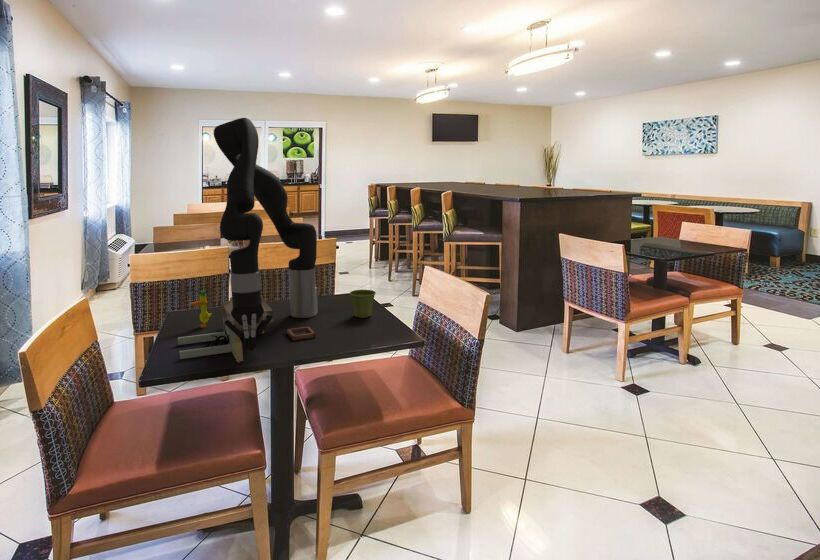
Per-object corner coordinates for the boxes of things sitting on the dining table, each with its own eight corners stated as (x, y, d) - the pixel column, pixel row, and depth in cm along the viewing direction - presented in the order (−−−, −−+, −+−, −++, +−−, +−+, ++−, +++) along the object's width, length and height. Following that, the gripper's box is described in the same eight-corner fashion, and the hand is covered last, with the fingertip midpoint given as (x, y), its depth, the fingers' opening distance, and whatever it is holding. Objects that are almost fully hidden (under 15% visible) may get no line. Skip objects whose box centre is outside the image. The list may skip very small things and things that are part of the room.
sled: (231, 337, 155) (230, 319, 154) (243, 361, 134) (241, 342, 133) (178, 343, 148) (176, 326, 147) (181, 371, 128) (179, 350, 126)
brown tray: (308, 330, 162) (308, 326, 162) (315, 337, 156) (315, 333, 155) (287, 333, 159) (287, 329, 159) (293, 340, 152) (293, 336, 152)
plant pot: (378, 318, 177) (377, 294, 175) (351, 320, 175) (351, 296, 173) (373, 311, 186) (373, 289, 184) (348, 313, 184) (347, 290, 182)
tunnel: (263, 332, 161) (261, 297, 158) (274, 348, 145) (272, 310, 143) (224, 337, 155) (221, 301, 153) (231, 354, 140) (228, 315, 138)
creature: (206, 359, 140) (234, 348, 143) (199, 342, 138) (228, 332, 141) (203, 350, 147) (230, 341, 150) (197, 334, 145) (225, 324, 148)
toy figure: (193, 329, 163) (190, 294, 160) (190, 327, 165) (187, 292, 163) (214, 326, 167) (212, 291, 164) (211, 323, 169) (209, 289, 167)
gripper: (268, 283, 139) (271, 342, 143) (218, 288, 134) (223, 349, 137) (274, 288, 133) (277, 350, 137) (221, 293, 127) (226, 358, 131)
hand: (250, 349), depth 137 cm, fingers closed
